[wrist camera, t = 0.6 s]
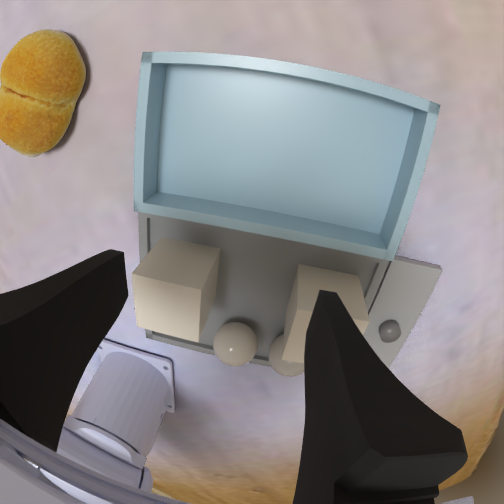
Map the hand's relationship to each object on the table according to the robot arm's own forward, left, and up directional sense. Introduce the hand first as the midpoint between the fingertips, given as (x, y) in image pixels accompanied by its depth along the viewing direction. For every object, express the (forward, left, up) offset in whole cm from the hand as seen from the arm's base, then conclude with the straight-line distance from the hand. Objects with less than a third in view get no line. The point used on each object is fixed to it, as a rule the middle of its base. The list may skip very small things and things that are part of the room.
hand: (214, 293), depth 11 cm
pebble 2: (-10, -5, -8) cm, 14 cm away
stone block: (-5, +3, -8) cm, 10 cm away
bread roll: (+6, +16, -9) cm, 20 cm away
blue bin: (+4, -1, -9) cm, 10 cm away
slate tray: (-7, -3, -9) cm, 12 cm away
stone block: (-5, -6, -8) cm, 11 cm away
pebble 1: (-10, -1, -8) cm, 13 cm away
